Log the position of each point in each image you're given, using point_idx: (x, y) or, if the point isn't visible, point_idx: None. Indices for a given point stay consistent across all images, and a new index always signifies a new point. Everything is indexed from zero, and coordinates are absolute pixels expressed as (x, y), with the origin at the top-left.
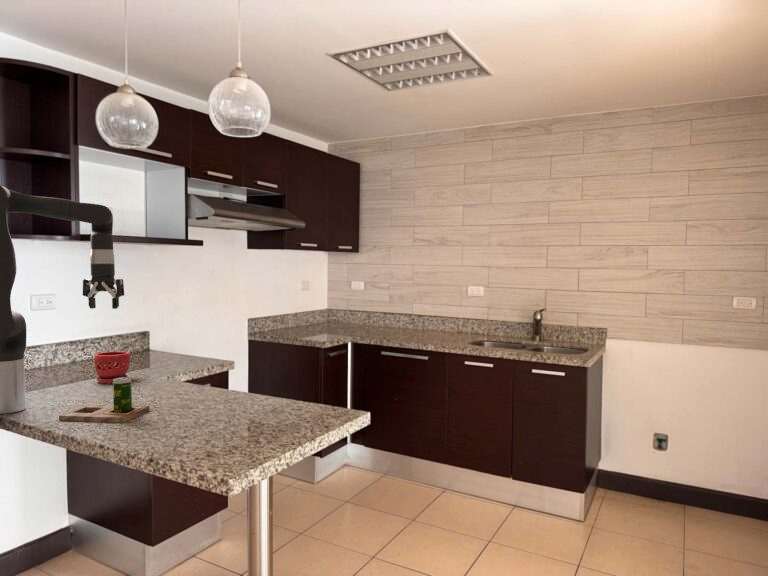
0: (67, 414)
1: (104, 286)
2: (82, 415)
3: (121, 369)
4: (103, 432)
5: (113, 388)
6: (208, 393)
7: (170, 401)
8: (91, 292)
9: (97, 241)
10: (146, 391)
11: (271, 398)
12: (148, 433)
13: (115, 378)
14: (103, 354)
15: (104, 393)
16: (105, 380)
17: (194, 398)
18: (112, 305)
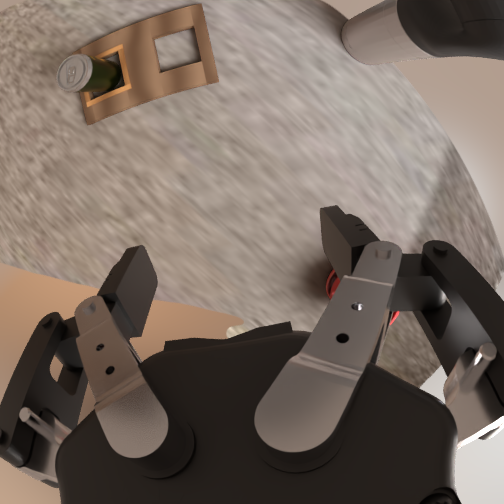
0: (191, 13)
1: (134, 381)
2: (155, 21)
3: (332, 292)
4: (73, 11)
5: (89, 55)
6: (97, 259)
7: (106, 189)
8: (369, 282)
9: None
10: (217, 236)
11: (13, 262)
12: (19, 49)
13: (86, 65)
14: (393, 314)
15: (293, 195)
16: None
17: (88, 223)
18: (133, 255)
